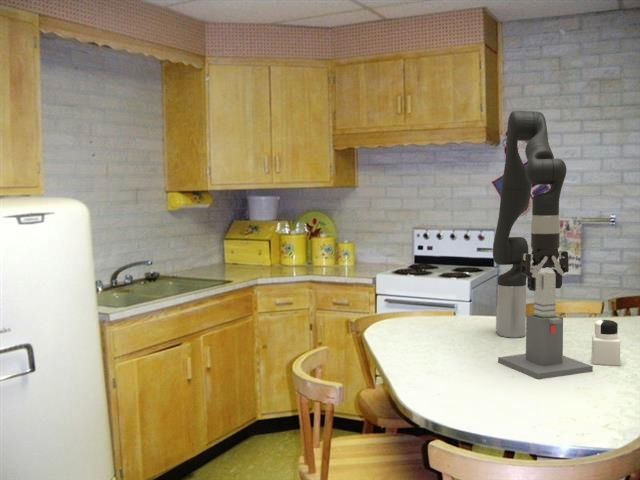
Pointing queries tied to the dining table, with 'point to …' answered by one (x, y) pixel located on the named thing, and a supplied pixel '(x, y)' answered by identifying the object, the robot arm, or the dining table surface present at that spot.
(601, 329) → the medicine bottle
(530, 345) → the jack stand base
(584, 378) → the dining table surface
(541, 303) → the steel column
